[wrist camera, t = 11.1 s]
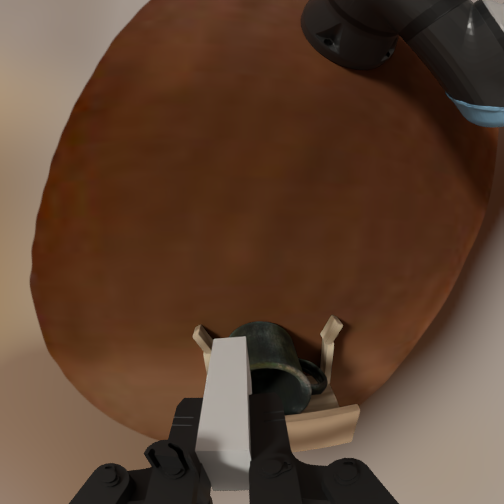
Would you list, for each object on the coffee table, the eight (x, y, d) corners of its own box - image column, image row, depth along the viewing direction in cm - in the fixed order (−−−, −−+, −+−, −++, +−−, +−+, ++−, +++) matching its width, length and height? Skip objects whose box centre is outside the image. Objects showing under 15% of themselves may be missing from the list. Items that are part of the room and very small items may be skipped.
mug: (227, 311, 40) (223, 357, 28) (323, 324, 41) (349, 368, 29) (218, 370, 42) (212, 422, 30) (305, 379, 43) (321, 429, 31)
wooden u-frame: (195, 324, 40) (174, 389, 25) (337, 314, 40) (378, 370, 26) (206, 389, 43) (196, 458, 28) (330, 379, 43) (358, 441, 28)
